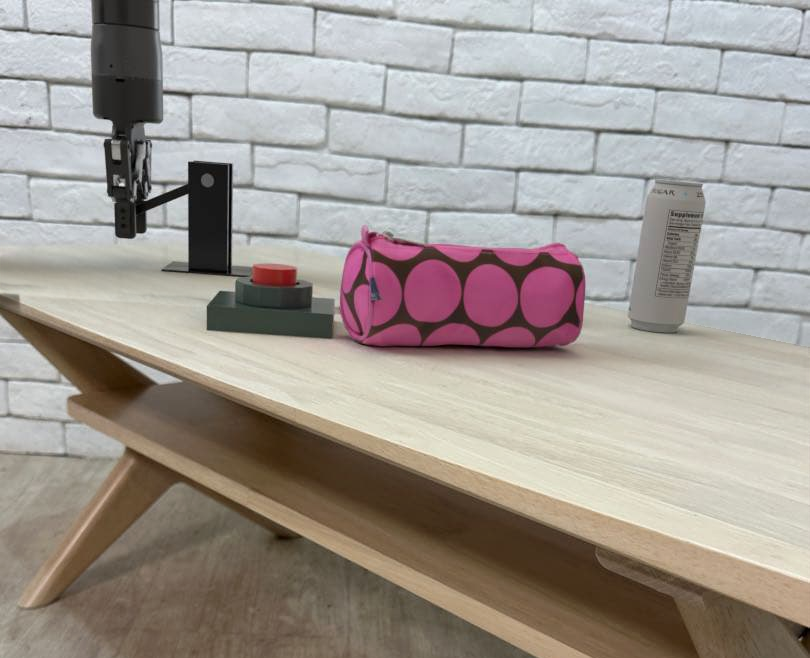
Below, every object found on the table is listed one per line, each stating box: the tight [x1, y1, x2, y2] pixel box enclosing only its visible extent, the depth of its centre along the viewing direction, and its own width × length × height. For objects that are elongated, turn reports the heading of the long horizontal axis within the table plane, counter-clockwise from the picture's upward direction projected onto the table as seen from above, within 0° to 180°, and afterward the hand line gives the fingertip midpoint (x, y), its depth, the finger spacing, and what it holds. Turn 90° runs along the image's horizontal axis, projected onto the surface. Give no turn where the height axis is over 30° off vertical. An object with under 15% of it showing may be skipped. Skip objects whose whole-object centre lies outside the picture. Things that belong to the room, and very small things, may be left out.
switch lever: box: [136, 183, 188, 217], centre depth 113 cm, size 12×5×2 cm, turn 92°
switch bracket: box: [161, 160, 253, 278], centre depth 115 cm, size 10×8×13 cm
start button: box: [252, 263, 298, 286], centre depth 90 cm, size 4×4×2 cm
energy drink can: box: [627, 179, 707, 334], centre depth 105 cm, size 6×6×15 cm
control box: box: [206, 276, 336, 340], centre depth 91 cm, size 11×9×4 cm
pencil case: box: [339, 224, 587, 348], centre depth 88 cm, size 21×10×10 cm, turn 111°
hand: (131, 234), depth 115 cm, fingers open, 5 cm apart
